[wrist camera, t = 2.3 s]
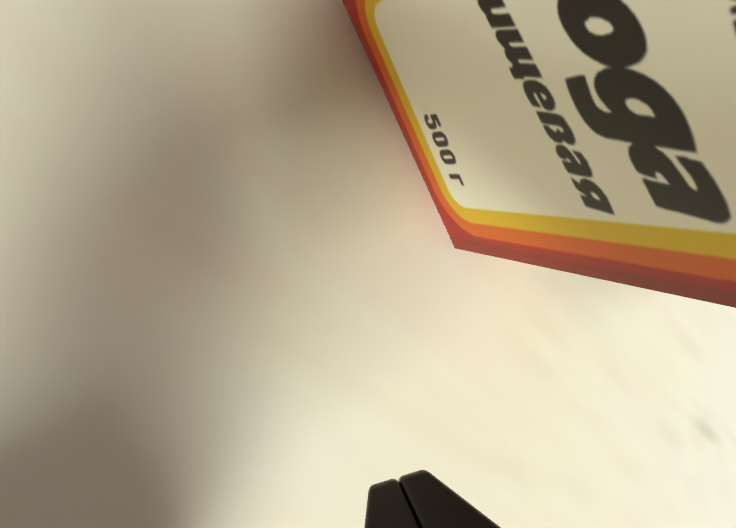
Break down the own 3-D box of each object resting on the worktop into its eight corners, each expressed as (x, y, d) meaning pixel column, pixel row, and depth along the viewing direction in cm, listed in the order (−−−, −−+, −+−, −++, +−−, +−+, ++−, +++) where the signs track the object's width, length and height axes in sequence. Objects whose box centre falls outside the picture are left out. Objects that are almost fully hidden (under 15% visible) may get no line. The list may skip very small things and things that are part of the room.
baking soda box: (329, -28, 19) (1094, -766, 4) (499, -105, 21) (1480, -831, 6) (455, 248, 22) (1185, 403, 7) (596, 159, 23) (1428, 129, 8)
